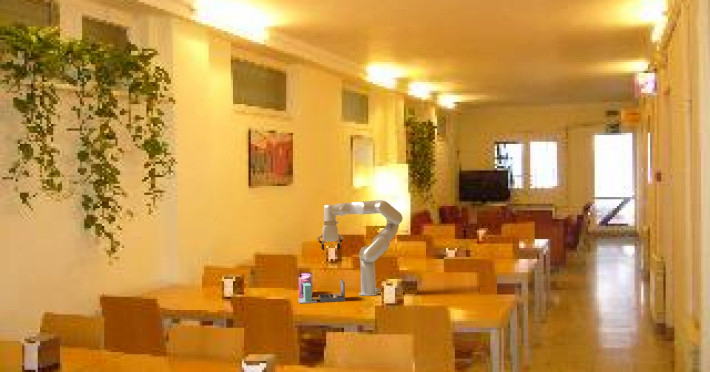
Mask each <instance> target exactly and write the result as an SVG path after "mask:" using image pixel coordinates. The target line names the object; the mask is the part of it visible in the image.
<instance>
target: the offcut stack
mask: <svg viewBox="0 0 710 372" xmlns="http://www.w3.org/2000/svg"><path fill="white" fill-rule="evenodd" d="M332 294H333V298H336V297H343V295H341V292H340V293H339V292H336V293H332Z"/></svg>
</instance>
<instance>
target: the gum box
mask: <svg viewBox="0 0 710 372" xmlns="http://www.w3.org/2000/svg"><path fill="white" fill-rule="evenodd" d="M303 283H310V284H311V294H312V295H313V293H314V291H313V272H301V273H300V274H299V276H298V299H301V298H304V293H303Z"/></svg>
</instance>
